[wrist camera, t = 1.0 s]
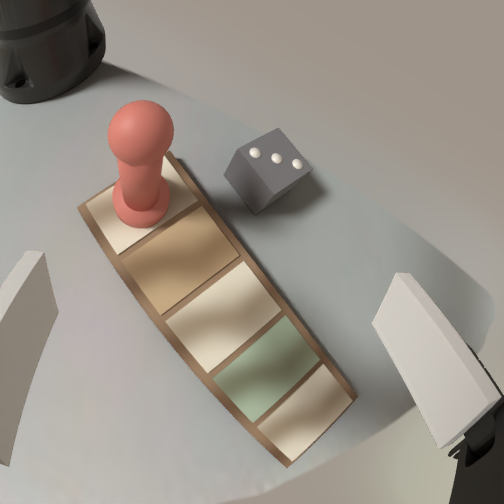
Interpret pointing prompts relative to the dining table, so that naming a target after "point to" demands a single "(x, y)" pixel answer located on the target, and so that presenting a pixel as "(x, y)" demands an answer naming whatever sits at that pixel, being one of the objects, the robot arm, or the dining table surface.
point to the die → (266, 170)
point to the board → (224, 317)
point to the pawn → (140, 162)
